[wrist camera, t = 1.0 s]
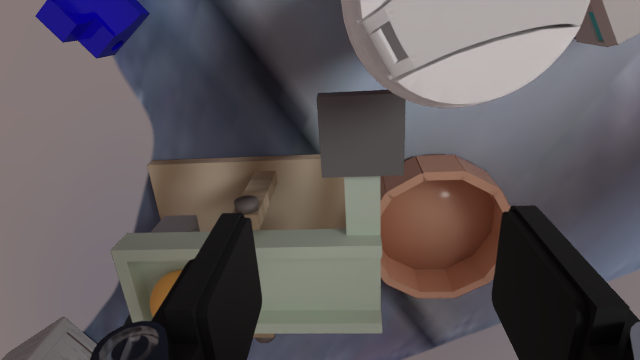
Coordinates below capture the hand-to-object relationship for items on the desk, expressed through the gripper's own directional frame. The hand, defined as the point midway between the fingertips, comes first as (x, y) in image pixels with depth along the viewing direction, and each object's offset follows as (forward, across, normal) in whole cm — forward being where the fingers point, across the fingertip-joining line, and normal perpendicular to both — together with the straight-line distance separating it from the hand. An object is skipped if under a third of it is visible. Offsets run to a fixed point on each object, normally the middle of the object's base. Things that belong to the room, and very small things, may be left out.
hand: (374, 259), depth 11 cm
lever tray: (+16, +6, +5) cm, 18 cm away
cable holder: (+20, +15, -8) cm, 26 cm away
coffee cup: (+20, -3, -8) cm, 21 cm away
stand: (+20, +8, +9) cm, 23 cm away
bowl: (+20, -6, +9) cm, 22 cm away
